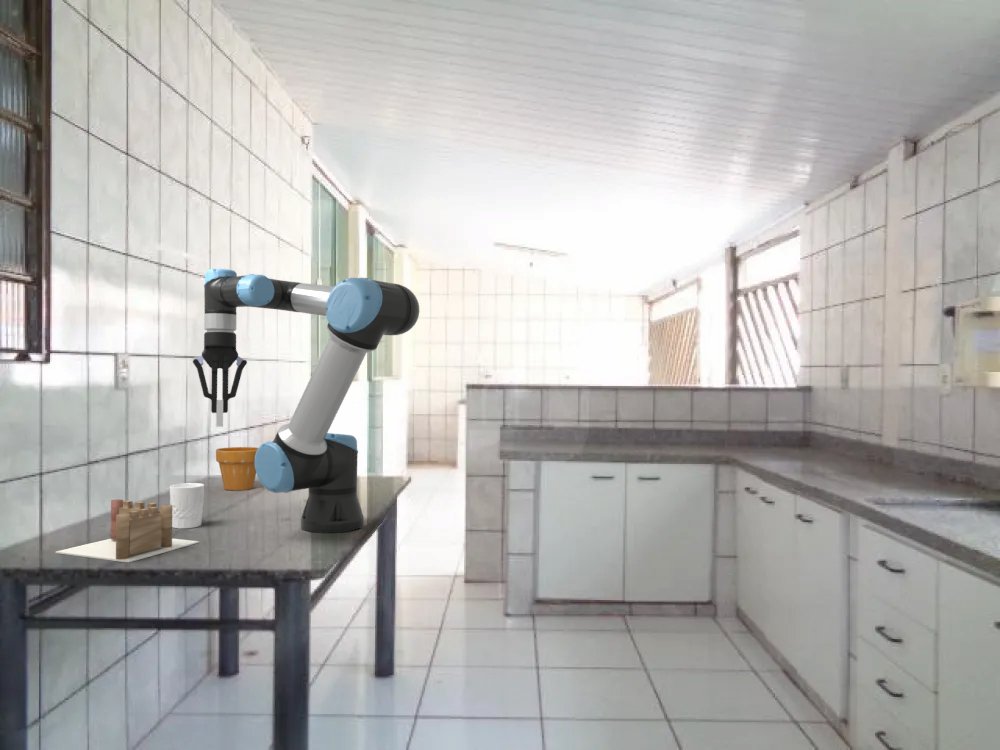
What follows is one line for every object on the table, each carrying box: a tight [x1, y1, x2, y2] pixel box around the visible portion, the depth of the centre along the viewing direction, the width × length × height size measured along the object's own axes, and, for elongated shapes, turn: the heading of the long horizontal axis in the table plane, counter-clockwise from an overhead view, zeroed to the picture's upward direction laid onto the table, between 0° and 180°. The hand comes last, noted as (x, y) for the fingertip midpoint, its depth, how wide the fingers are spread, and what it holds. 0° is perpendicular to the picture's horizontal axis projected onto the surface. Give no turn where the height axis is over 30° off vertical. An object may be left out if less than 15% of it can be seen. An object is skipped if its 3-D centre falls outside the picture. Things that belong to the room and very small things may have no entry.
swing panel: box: [110, 498, 160, 540], centre depth 163 cm, size 2×13×8 cm, turn 69°
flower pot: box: [215, 446, 259, 491], centre depth 243 cm, size 14×14×13 cm
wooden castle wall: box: [116, 504, 173, 560], centre depth 154 cm, size 2×14×9 cm, turn 159°
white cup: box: [169, 482, 205, 529], centre depth 182 cm, size 8×8×10 cm
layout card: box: [54, 537, 200, 563], centre depth 159 cm, size 20×19×1 cm
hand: (219, 426), depth 185 cm, fingers closed
